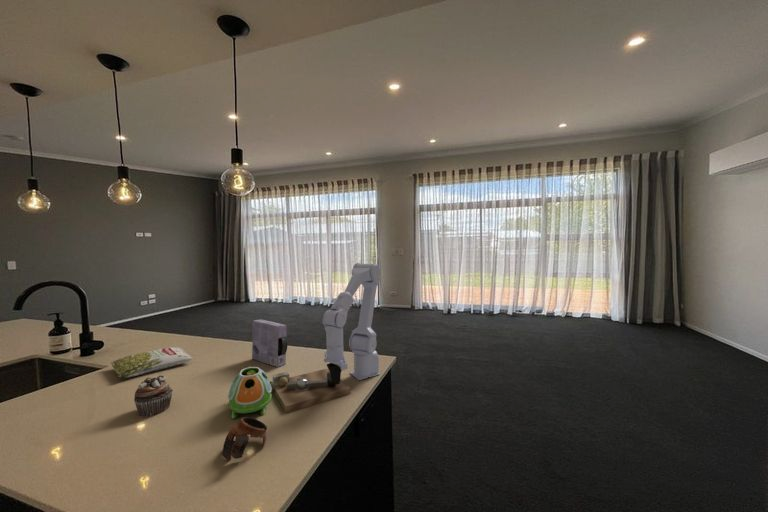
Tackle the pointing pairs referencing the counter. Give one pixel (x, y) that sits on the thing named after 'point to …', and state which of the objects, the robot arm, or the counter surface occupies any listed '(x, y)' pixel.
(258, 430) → the brown curved open piece
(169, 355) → the frozen beans
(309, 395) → the board
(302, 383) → the lever
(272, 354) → the cake pan box
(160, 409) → the cupcake
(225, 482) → the counter surface
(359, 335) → the robot arm
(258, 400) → the turtle holder
